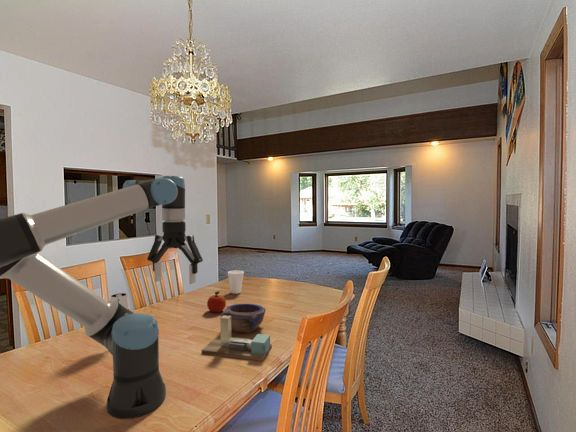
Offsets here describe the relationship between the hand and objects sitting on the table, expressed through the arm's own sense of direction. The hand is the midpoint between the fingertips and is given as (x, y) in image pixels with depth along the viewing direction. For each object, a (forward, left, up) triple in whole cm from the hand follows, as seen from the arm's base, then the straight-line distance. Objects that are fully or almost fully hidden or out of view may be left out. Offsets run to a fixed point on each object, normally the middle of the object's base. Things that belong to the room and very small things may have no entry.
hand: (175, 282), depth 111 cm
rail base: (+14, -17, -29) cm, 36 cm away
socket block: (+14, -27, -27) cm, 41 cm away
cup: (+86, +15, -29) cm, 92 cm away
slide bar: (+14, -19, -27) cm, 36 cm away
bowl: (+34, -12, -29) cm, 46 cm away
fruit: (+52, +11, -29) cm, 60 cm away
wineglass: (+7, +30, -29) cm, 42 cm away
